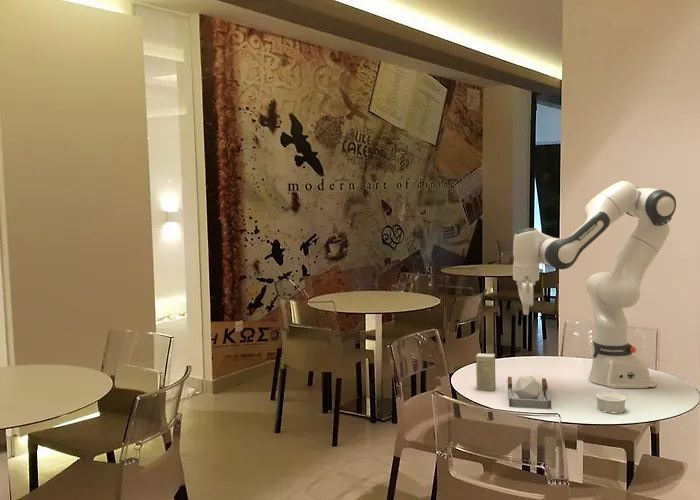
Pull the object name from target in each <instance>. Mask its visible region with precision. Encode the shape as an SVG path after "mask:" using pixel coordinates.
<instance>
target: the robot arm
mask: <svg viewBox="0 0 700 500" xmlns="http://www.w3.org/2000/svg"><path fill="white" fill-rule="evenodd" d="M676 209H677V199H676V197H675V196H674V195H673V194H672V193H671V192H669V191H667V190H664V189H658V188H654V187H653V188H652V187H636V186H635V185H634V184H633V183H631V182H629V181H626V180H620V181H617V182H616V183H613V184H612V185H610V186H608V187H606V188H605V189H603V190H602V191H600V192H599V193H598V194H596V195H595V196H594V197H593V198H592V199H590V200H589V202H588V203H586V205H585V206H584V212H583V213H584V217H585V222H584V223H583V224H581V225H580V226H579V227H578V228H577V229H576V230H575V231H574V232H573V233H571V234H570V235H569V236H567V237H564V238H563V237H562V238H559V237H558V238H557V237H553V236H551V235H547V234H545V233H543V232H541V231H539V230H538V228H536V227H528V228H522V229H519V230H517V231H516V232H515V234H514V236H513V243H512V244H513V246H512V255H513V264H512V280H514V281H515V282H516V285H517V290H518V297H519V299H520V302H521V305H522V313H523V316H526V315H527V316H528V315H529V314H530V312H529V311H530V307H533V306H534V286H535V285H536V282H538V281H539V280H540V264H545V265H548V266H551V267H552V268H555V269H557V270H566V269H569V268H571V267H572V266H573V265H574V264H575V263H576V262H577V260H578V258H579V257H580V255H581V253H582V252H583V251H584V250H585V249H586V248H587V247H588V246H590V244H592V243H593V242H594V241H595V240H597V238H598V237H600V236H601V234H603V233H604V232H605V231H606V230H607V229H608V227H610V226H611V225H612V224H614V223H615V222H617V220H619V219H620V218H621V217H623V216H624V215H625V214H626V215H628V216H630V217H633V218H634V217H635V218H638V222H637V225H636V227H635V229H634V230H633V232H632V233H631V234H630V235H629V237H628V238H627V240H626V241H625V243H624V244H623V245H622V246H621V248H620V249H619V251H618V252H617V255H616V264H615V266H614V269H613V271H612V272H606V271H602V272H601V271H600V272H595V273H593V274H591V275H590V276H589V277H588V279H587V281H586V290H587V292H588V294H589V297H590V301H591V306H592V307H591V308H592V312H593V317H594V339H593V341H592V356H593V358H592V365H591V369H590V373H589V376H588V380H589V381H590V382H592V383H595V384H598V385H601V386H602V385H603V386H605V387H608V388H612V389H649V388H648V387H654V388H656V387H657V381H656V379H654V378H653V377H652V376H650V371H649V368H648V365H646V363H644V362H643V361H642V360H641V359H640V358H638V356H636V355H634V354H635V353H636V352H637V348H636V347H635V346H633V345H632V344H630V343H629V342H628V326H629V325H628V319H627V318H626V315H625V313H624V309H626V308H631V307H633V306H635V305H636V304H637V303H638V301H639V299H640V296H641V290H640V288H641V283H642V281H643V278H644V275H645V274H646V272H647V270H648V268H649V266H650V265H651V264H652V262H653V261H654V259H655V258H656V257H657V255H658V254H659V252H660V251H661V250H662V248H663V246H664V245H665V242H666V240H667V238H668V236H669V233H670V231H671V230H670V226H669V224H668V223H670V221H672V218H673V216H674V214H675V211H676ZM655 386H656V387H655ZM646 387H647V388H646Z"/></svg>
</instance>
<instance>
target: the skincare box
mask: <svg viewBox="0 0 700 500" xmlns="http://www.w3.org/2000/svg"><path fill="white" fill-rule="evenodd" d="M475 368H476V369H475V370H476V372H475V373H476V375H475V376H476V390H477V391H478V390H479V391H490V392H493V391H495V389H496V383H497V382H496V354H495V353H479V352H478V353H476V355H475Z"/></svg>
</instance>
